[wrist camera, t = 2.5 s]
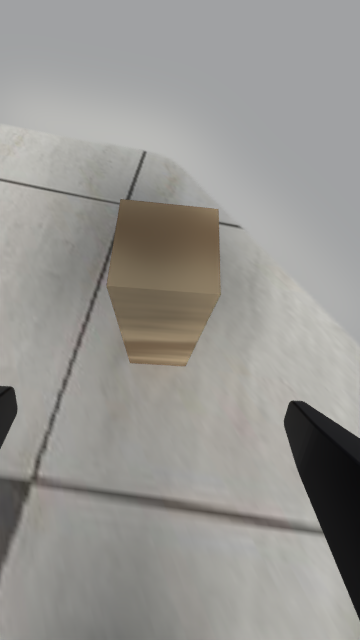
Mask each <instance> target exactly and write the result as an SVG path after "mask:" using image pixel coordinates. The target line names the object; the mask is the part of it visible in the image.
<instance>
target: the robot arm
mask: <svg viewBox="0 0 360 640" xmlns="http://www.w3.org/2000/svg"><path fill="white" fill-rule="evenodd" d="M16 414H17V401H16V395H15V390H14V388H13V387H11V386H0V449H1V446H2V444H3V442H4V440H5V438H6V436H7V434H8V432H9V429H10V427H11V425H12V423H13V421H14V419H15V417H16ZM284 427H285V430H286V434H287V437H288V440H289V444H290V447H291V450H292V454H293V457H294V460H295V464H296V467H297V470H298V472H299V475H300V477H301V480H302V482H303V485H304V487H305V490H306V492H307V494H308V497H309V499H310V502H311V504H312V506H313V509H314V511H315V514H316V516H317V519H318V521H319V523H320V526H321V528H322V531H323V533H324V535H325V538H326V540H327V543H328V545H329V547H330V550H331V552H332V555H333V557H334V560H335V562H336V564H337V567H338V569H339V572H340V574H341V576H342V579H343V581H344V584H345V586H346V588H347V591H348V593H349V596H350V598H351V601H352V603H353V605H354V608H355V610H356V613H357V615H358V617H359V620H360V438H358V437H357V436H355V435H354V434H352V433H351V432H349V431H348V430H346V429H345V428H343V427H342V426H340V425H339V424H337V423H336V422H334V421H333V420H331V419H330V418H328V417H326V416H325V415H323V414H322V413H320V412H319V411H317V410H316V409H314V408H313V407H311V406H310V405H308V404H307V403H305V402H303V401H291V402H290V403H289V405H288V408H287V412H286V415H285V418H284Z"/></svg>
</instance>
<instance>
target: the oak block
mask: <svg viewBox="0 0 360 640" xmlns="http://www.w3.org/2000/svg"><path fill="white" fill-rule="evenodd" d="M107 289H108V292H109V295H110V299H111V302H112V305H113V309H114V312H115V315H116V318H117V322H118V325H119V328H120V331H121V335H122V338H123V341H124V344H125V348H126V351H127V354H128V357H129V361H130V363H139V364H157V365H174V366H186V364H187V362H188V360H189V358H190V356H191V354H192V352H193V350H194V348H195V345H196V343H197V341H198V339H199V337H200V335H201V333H202V331H203V329H204V327H205V325H206V323H207V321H208V319H209V317H210V315H211V313H212V311H213V309H214V307H215V305H216V303H217V301H218V299H219V297H220V295H221V292H220V251H219V211H218V209H212V208H202V207H193V206H183V205H173V204H163V203H153V202H144V201H134V200H124V199H121V200H120V206H119V212H118V218H117V224H116V230H115V237H114V243H113V249H112V255H111V261H110V267H109V273H108V280H107Z"/></svg>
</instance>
